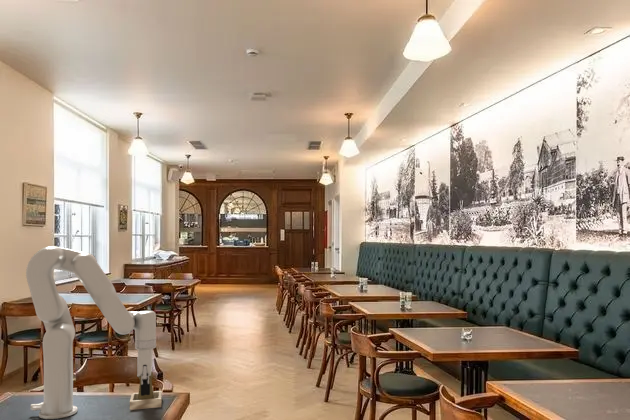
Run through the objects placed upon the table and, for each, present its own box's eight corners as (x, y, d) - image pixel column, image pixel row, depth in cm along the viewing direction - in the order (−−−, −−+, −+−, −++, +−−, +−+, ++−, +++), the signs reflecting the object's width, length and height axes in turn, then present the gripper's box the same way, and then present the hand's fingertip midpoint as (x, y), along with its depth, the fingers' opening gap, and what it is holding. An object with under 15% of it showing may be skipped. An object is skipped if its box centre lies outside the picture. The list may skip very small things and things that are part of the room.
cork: (149, 403, 203) (149, 372, 203) (134, 402, 204) (134, 372, 204) (157, 398, 209) (157, 369, 209) (142, 397, 210) (142, 368, 210)
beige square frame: (129, 409, 200) (129, 401, 200) (131, 401, 210) (131, 393, 210) (161, 407, 202) (161, 398, 202) (161, 398, 213) (161, 390, 213)
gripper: (136, 340, 214) (136, 388, 214) (133, 349, 198) (133, 400, 197) (156, 339, 216) (156, 386, 215) (155, 347, 200) (155, 398, 199)
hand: (145, 392), depth 206 cm, fingers closed on cork, 4 cm apart
